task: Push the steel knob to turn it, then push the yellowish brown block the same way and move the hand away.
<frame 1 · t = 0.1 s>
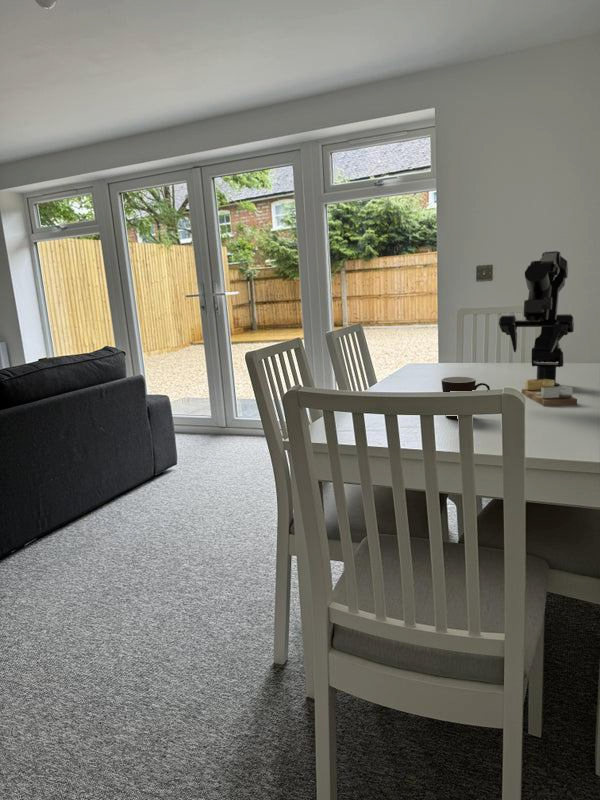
hand: (532, 351, 156), 15 cm above the table, tool tilted 30°, fingers open, 9 cm apart
steel knob: (557, 392, 159), point 3 cm above the table, hinge at 0.0°
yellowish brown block: (540, 384, 170), point 3 cm above the table, hinge at 0.0°
walnut base: (547, 398, 165), on the table
coffee mug: (464, 418, 149), on the table
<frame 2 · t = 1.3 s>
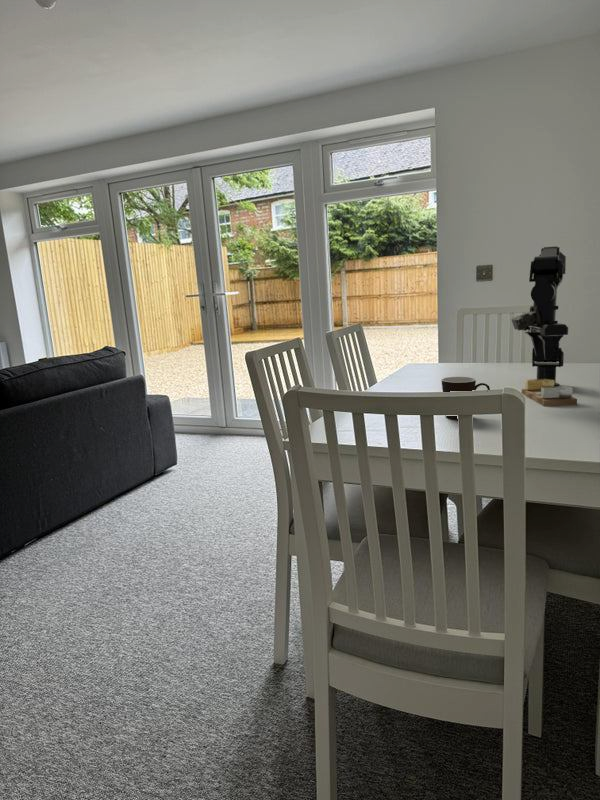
hand: (542, 357, 163), 12 cm above the table, tool pointing down, fingers open, 6 cm apart
nothing on the table moved.
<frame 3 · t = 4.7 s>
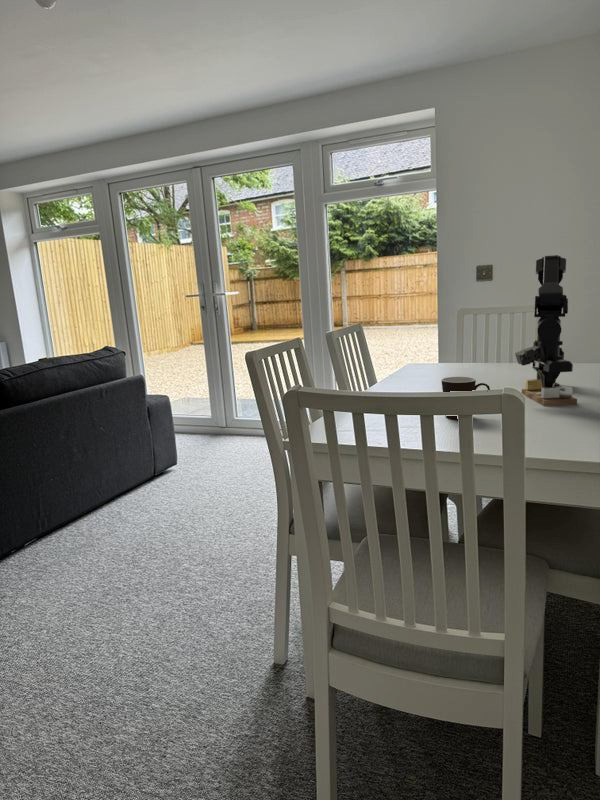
hand: (546, 392, 161), 3 cm above the table, tool pointing down, fingers closed
steel knob: (557, 392, 159), point 3 cm above the table, hinge at 1.7°, touching gripper
everything else where it was.
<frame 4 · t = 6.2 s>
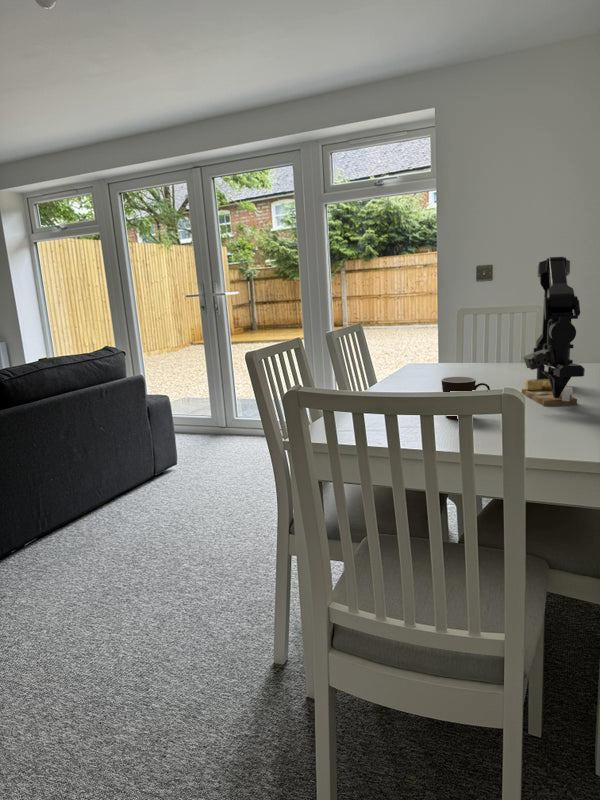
hand: (556, 397, 155), 3 cm above the table, tool pointing down, fingers closed
steel knob: (564, 393, 157), point 3 cm above the table, hinge at 71.3°, touching gripper
everything else where it was.
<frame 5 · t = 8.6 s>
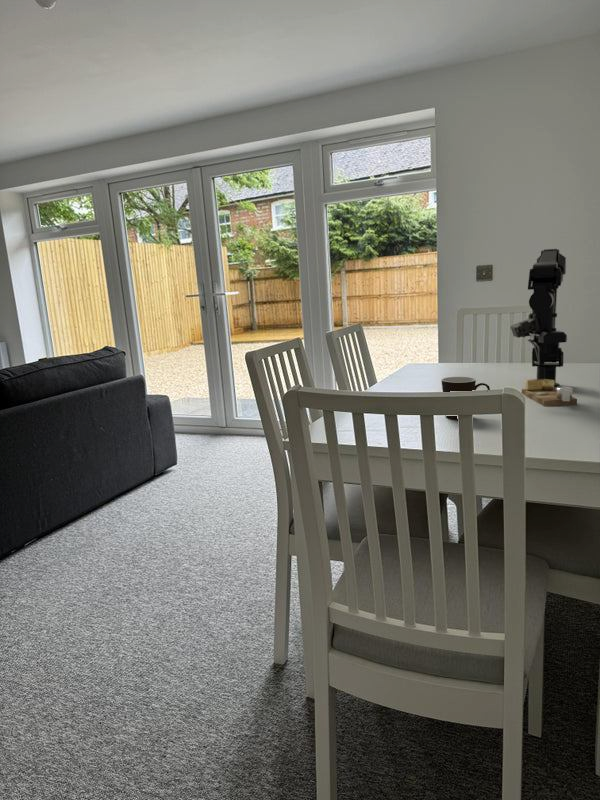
hand: (541, 364, 164), 10 cm above the table, tool pointing down, fingers closed
steel knob: (564, 393, 157), point 3 cm above the table, hinge at 71.5°
everything else where it was.
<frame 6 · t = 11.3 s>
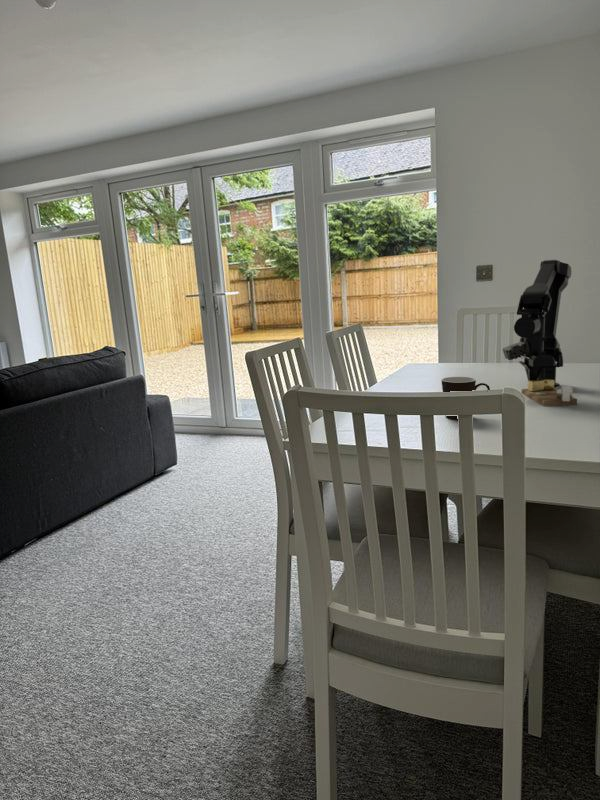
hand: (531, 385, 172), 3 cm above the table, tool pointing down, fingers closed
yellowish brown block: (541, 384, 170), point 3 cm above the table, hinge at 20.1°, touching gripper
everything else where it was.
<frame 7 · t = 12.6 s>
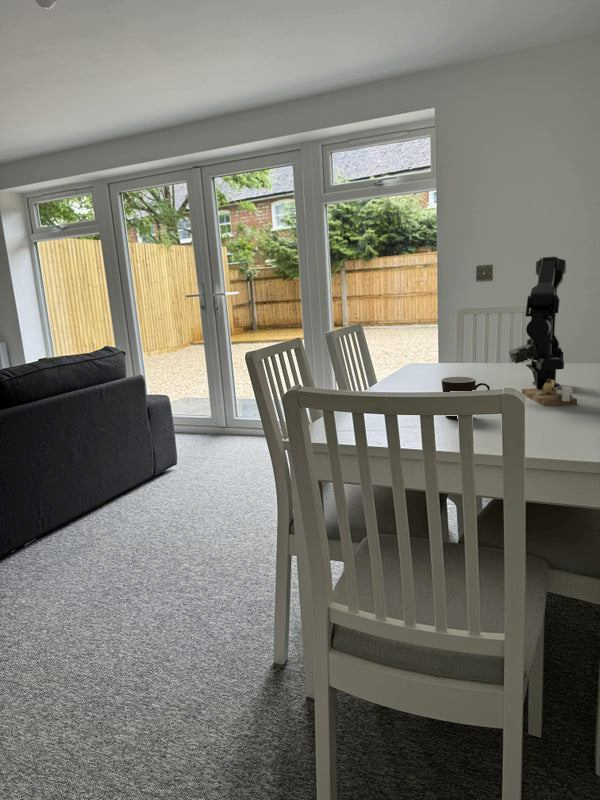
hand: (539, 389, 166), 3 cm above the table, tool pointing down, fingers closed
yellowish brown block: (547, 385, 169), point 3 cm above the table, hinge at 71.6°, touching gripper
everything else where it was.
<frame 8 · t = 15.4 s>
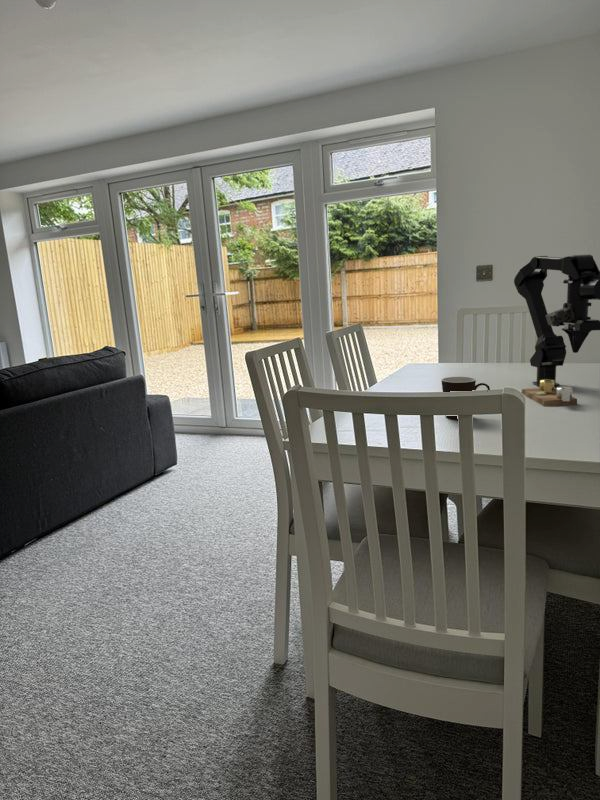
hand: (575, 352, 170), 12 cm above the table, tool pointing down, fingers closed
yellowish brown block: (547, 385, 169), point 3 cm above the table, hinge at 71.8°
everything else where it was.
at the end: steel knob at +72° (first picture: +0°); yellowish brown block at +72° (first picture: +0°) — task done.
